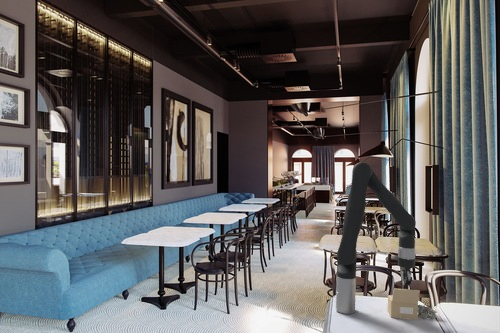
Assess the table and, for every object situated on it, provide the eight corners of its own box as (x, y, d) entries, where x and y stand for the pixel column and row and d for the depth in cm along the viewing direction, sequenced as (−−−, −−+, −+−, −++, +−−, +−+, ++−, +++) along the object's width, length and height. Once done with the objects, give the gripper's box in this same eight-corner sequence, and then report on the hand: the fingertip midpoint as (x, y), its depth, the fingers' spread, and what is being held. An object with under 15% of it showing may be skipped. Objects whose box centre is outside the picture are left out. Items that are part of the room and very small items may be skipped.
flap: (391, 301, 178) (392, 302, 177) (393, 288, 175) (393, 289, 174) (417, 303, 176) (417, 304, 176) (419, 290, 173) (420, 290, 172)
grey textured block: (437, 320, 176) (437, 312, 176) (420, 319, 177) (421, 311, 177) (429, 311, 187) (429, 303, 187) (413, 310, 188) (414, 302, 188)
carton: (391, 317, 178) (391, 301, 178) (387, 310, 187) (387, 294, 186) (417, 319, 176) (417, 303, 176) (412, 312, 185) (412, 296, 184)
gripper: (395, 252, 183) (394, 287, 183) (401, 259, 169) (400, 297, 170) (411, 253, 181) (410, 288, 182) (418, 260, 168) (417, 298, 169)
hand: (405, 292), depth 176 cm, fingers closed
